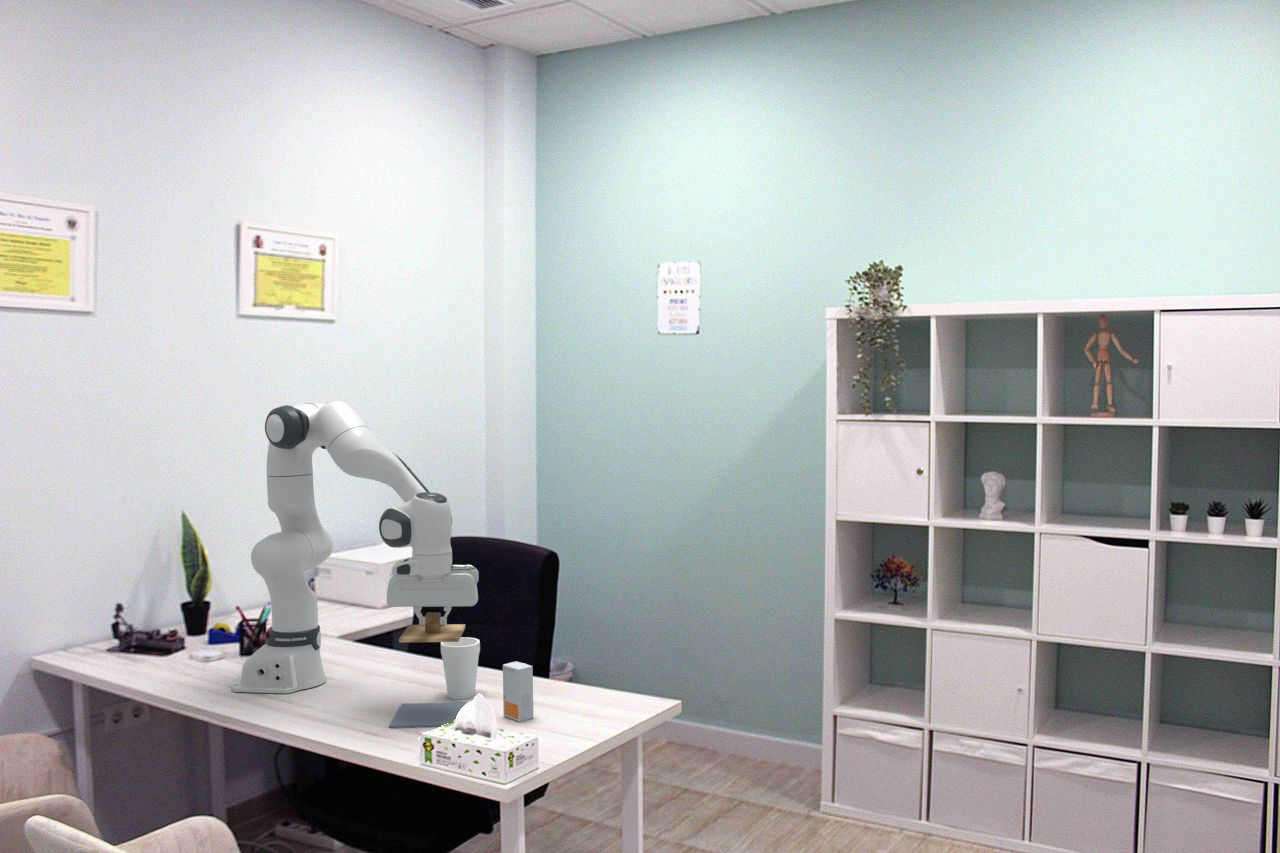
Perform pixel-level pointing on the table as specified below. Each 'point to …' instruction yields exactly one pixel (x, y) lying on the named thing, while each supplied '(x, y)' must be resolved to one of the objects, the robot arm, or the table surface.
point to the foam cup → (461, 666)
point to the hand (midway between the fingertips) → (432, 625)
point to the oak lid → (432, 631)
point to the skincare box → (518, 691)
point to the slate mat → (426, 714)
